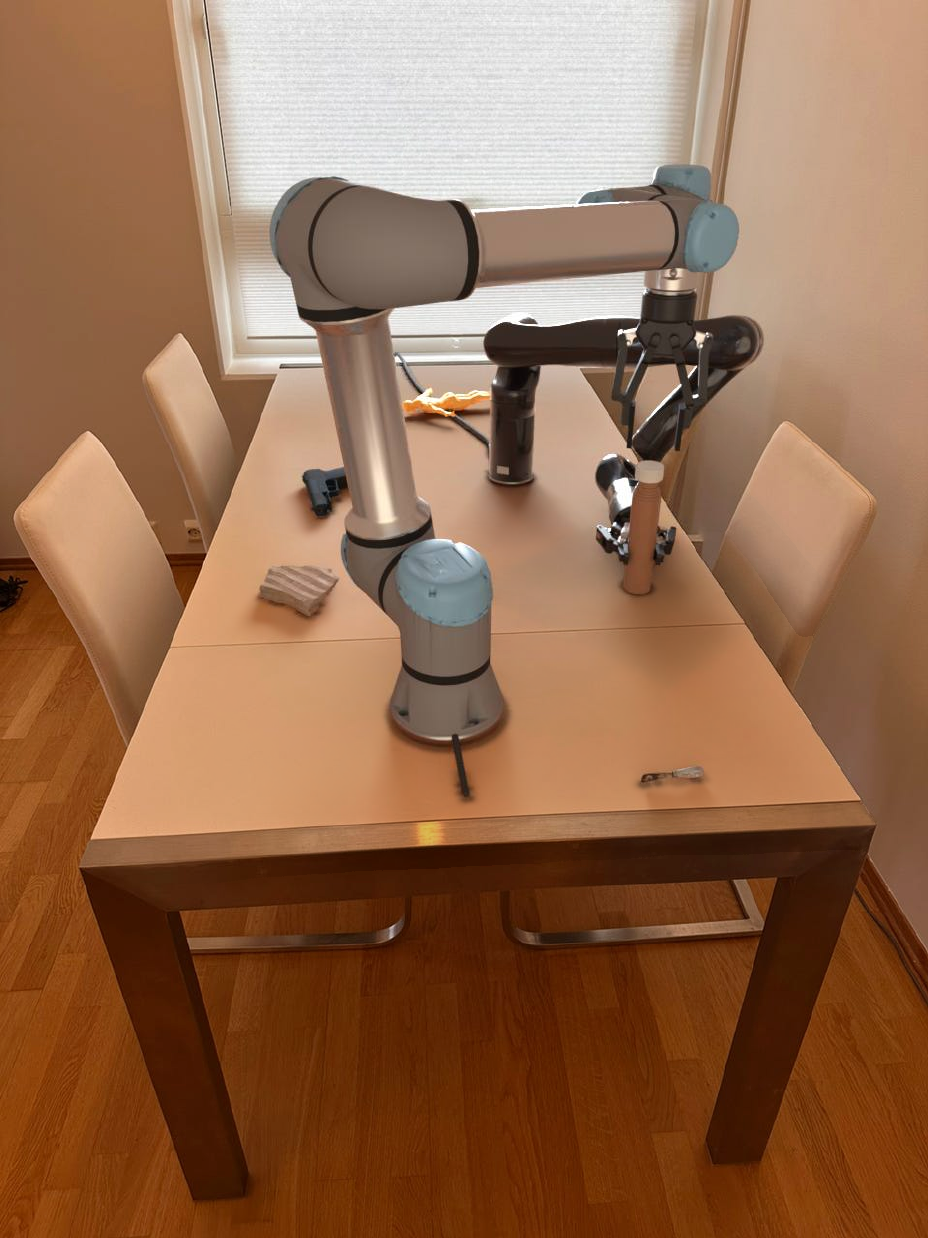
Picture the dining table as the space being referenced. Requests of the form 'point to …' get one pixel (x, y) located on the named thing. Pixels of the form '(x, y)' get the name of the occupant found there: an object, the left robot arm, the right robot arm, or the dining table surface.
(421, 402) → the human figure
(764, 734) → the dining table surface
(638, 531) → the bottle
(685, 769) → the putty knife
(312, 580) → the stone
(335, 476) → the handgun
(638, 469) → the cap
